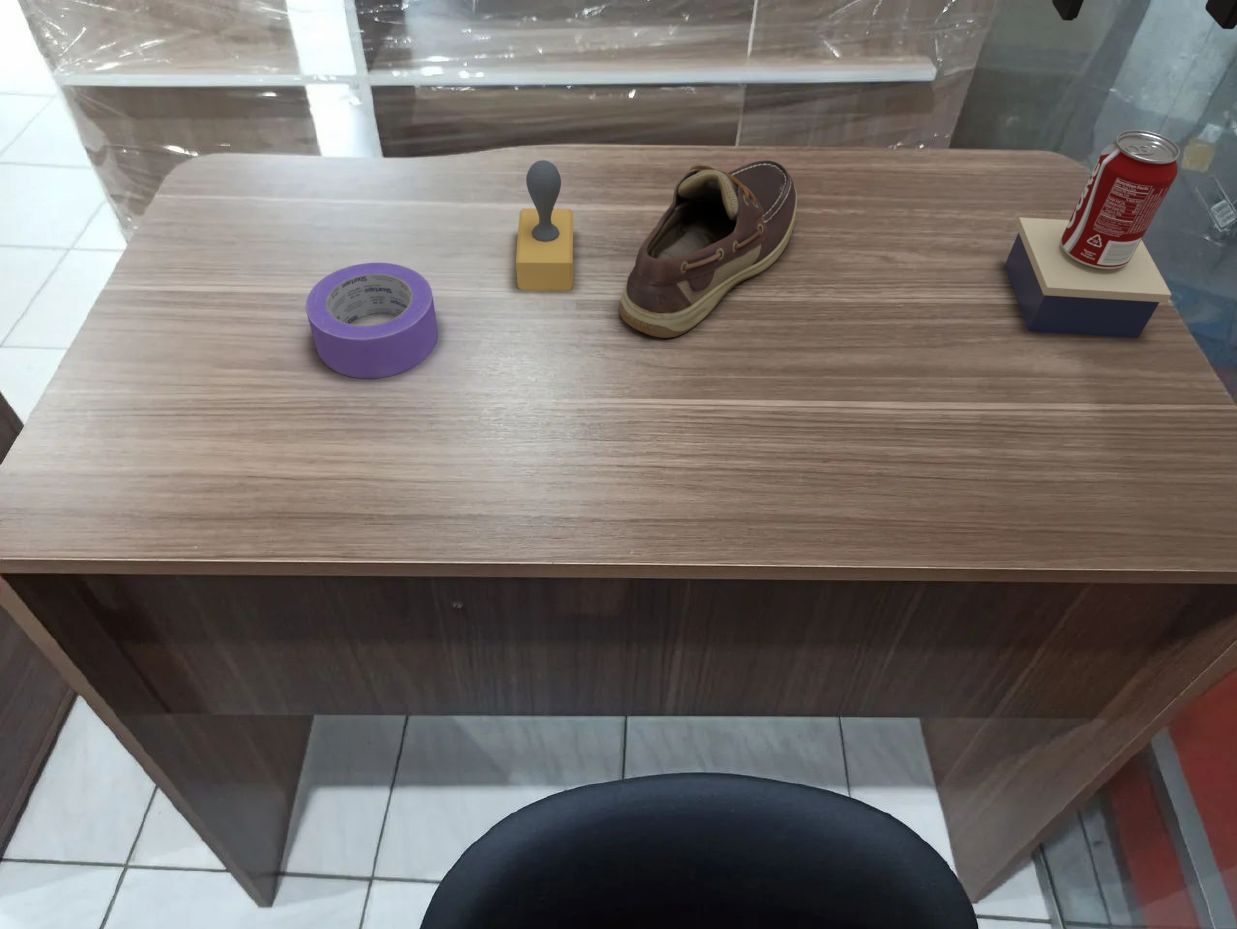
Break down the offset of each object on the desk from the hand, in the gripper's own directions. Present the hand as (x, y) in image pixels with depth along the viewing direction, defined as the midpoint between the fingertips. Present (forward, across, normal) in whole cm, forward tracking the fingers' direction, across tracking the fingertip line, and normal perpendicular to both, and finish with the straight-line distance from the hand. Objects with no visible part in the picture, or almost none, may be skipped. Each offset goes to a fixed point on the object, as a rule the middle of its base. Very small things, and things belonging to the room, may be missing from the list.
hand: (1140, 15), depth 57 cm
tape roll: (+36, -56, +6) cm, 67 cm away
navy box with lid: (+36, +15, +19) cm, 44 cm away
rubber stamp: (+36, -41, +20) cm, 58 cm away
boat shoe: (+36, -23, +22) cm, 48 cm away
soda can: (+31, +15, +19) cm, 39 cm away
